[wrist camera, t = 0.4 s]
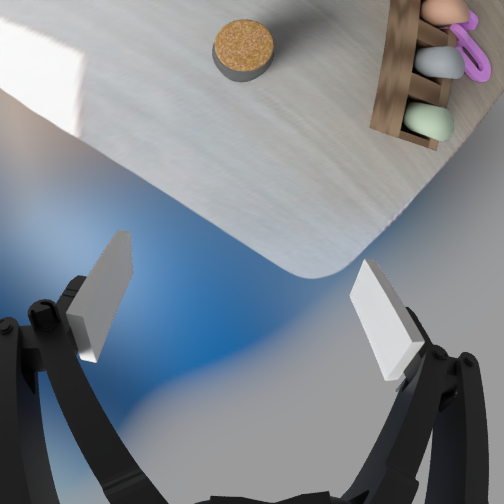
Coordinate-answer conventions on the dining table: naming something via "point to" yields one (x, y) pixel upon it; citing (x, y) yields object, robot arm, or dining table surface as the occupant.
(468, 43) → the bracket
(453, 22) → the brown egg
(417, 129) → the green rounded cylinder
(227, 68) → the bottle
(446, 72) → the grey rounded cylinder
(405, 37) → the walnut rack
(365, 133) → the dining table surface
